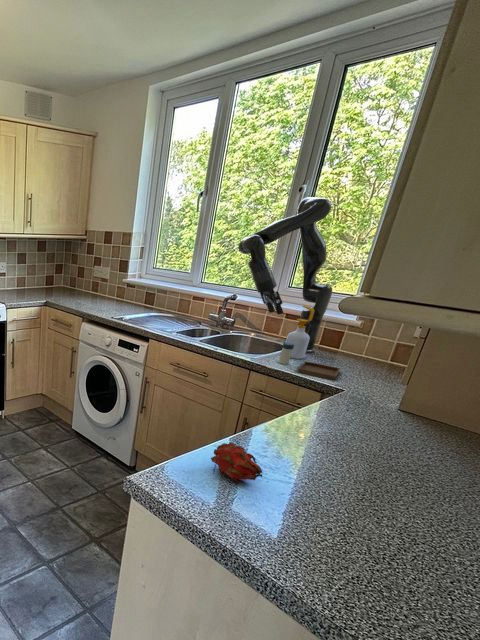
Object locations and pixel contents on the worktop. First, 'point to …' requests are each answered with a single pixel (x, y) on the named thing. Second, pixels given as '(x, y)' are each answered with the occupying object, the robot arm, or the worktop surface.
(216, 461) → the dragon fruit
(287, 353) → the shaving stick
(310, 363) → the tray
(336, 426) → the worktop surface
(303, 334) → the soap bottle
